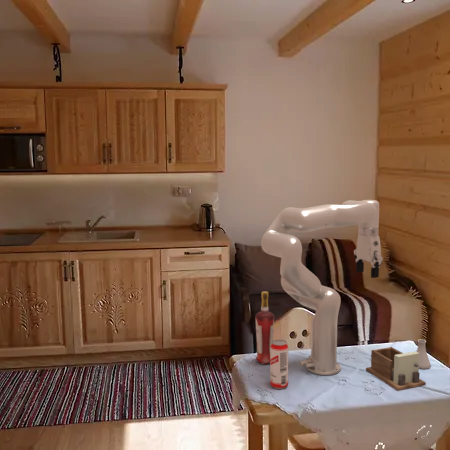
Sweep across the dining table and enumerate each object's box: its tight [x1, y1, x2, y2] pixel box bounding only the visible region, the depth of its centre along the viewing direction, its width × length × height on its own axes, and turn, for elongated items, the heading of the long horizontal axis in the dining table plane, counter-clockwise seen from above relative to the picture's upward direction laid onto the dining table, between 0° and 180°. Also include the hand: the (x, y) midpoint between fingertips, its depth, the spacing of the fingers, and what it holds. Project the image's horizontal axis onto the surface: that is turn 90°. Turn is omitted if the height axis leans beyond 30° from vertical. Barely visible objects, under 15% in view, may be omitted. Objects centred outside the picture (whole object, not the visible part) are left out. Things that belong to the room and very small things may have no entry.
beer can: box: [269, 339, 289, 390], centre depth 178 cm, size 6×6×16 cm
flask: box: [415, 338, 432, 370], centre depth 194 cm, size 7×7×10 cm
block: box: [393, 350, 420, 384], centre depth 178 cm, size 9×3×10 cm, turn 110°
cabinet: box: [365, 346, 427, 392], centre depth 184 cm, size 12×18×8 cm, turn 20°
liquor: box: [254, 291, 275, 365], centre depth 198 cm, size 7×7×28 cm
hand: (367, 274), depth 200 cm, fingers open, 9 cm apart
